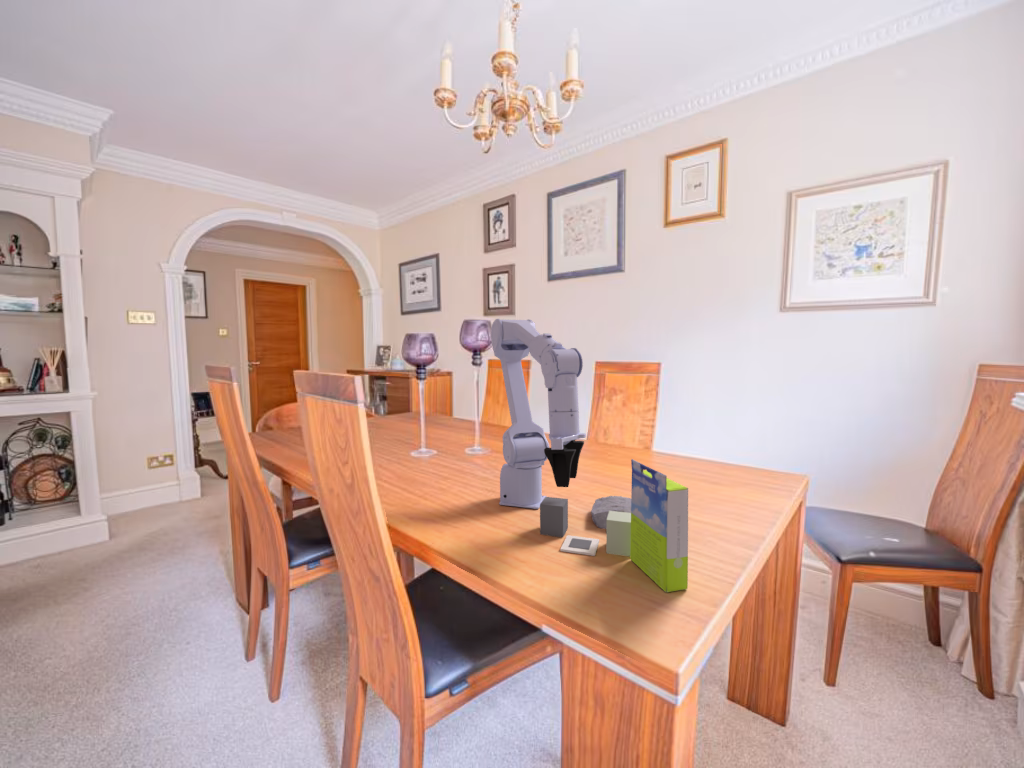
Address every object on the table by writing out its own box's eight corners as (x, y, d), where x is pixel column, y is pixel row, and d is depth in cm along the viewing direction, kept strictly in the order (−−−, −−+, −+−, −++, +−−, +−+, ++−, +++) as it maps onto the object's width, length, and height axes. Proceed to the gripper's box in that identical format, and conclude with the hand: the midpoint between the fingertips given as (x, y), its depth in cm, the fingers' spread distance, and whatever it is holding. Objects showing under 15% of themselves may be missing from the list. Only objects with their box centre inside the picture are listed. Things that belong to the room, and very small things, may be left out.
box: (689, 590, 62) (691, 473, 60) (664, 594, 61) (665, 476, 60) (649, 557, 72) (651, 456, 71) (627, 559, 71) (628, 458, 70)
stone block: (594, 538, 84) (645, 532, 82) (589, 514, 84) (640, 507, 82) (595, 518, 96) (640, 512, 94) (590, 497, 96) (635, 490, 94)
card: (560, 551, 74) (560, 548, 74) (567, 537, 80) (567, 534, 80) (594, 556, 72) (594, 553, 72) (599, 541, 78) (599, 538, 78)
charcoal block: (540, 534, 81) (539, 504, 81) (546, 525, 86) (545, 496, 85) (563, 537, 80) (563, 506, 80) (567, 528, 84) (567, 498, 84)
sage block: (606, 553, 73) (606, 519, 73) (609, 542, 78) (609, 510, 77) (633, 557, 72) (633, 522, 72) (634, 545, 76) (634, 513, 76)
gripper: (577, 413, 73) (581, 491, 73) (589, 408, 87) (593, 474, 87) (538, 414, 75) (541, 490, 75) (556, 409, 89) (559, 473, 89)
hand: (566, 482), depth 81 cm, fingers open, 7 cm apart
